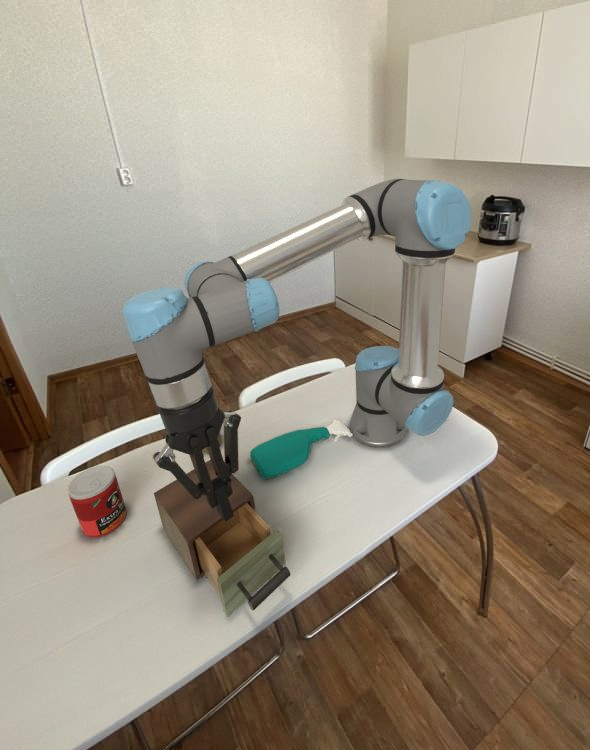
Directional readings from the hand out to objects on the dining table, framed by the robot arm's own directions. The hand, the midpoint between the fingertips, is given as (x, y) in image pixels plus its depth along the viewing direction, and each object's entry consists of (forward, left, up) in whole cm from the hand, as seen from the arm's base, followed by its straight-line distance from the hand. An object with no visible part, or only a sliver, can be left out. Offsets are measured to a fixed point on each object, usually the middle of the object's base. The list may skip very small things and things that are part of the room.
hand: (226, 513), depth 63 cm
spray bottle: (-11, -29, -15) cm, 35 cm away
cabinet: (+7, -9, -14) cm, 18 cm away
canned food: (+29, -14, -15) cm, 35 cm away
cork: (+13, -34, -15) cm, 39 cm away
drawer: (-2, +1, -13) cm, 14 cm away
